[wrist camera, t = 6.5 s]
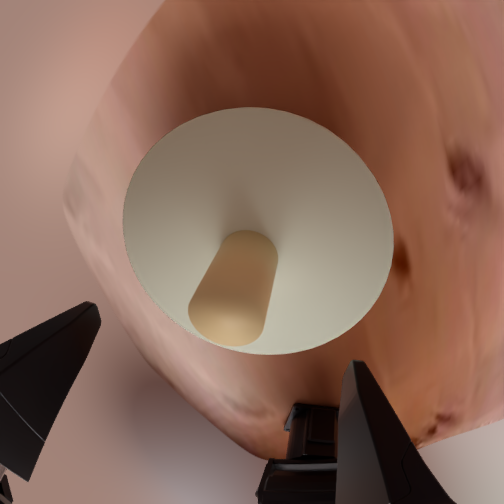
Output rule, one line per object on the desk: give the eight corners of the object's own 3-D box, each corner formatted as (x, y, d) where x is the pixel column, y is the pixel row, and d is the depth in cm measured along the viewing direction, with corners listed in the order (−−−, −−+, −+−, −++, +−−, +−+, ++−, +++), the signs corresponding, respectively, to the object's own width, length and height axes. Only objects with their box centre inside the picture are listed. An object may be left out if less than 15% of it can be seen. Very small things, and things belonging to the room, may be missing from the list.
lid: (345, 340, 19) (348, 429, 13) (153, 303, 21) (107, 375, 15) (409, 134, 12) (479, 170, 6) (143, 101, 14) (49, 118, 8)
